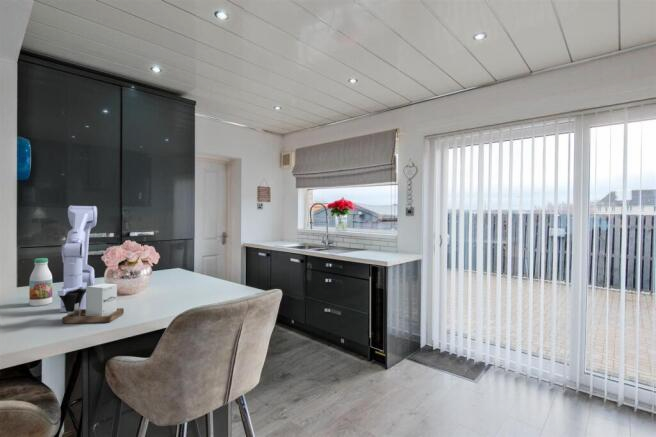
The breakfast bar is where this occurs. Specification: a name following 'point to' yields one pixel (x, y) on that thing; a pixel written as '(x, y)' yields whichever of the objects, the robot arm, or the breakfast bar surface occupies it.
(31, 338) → the breakfast bar surface
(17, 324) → the breakfast bar surface
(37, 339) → the breakfast bar surface
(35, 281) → the milk bottle
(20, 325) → the breakfast bar surface
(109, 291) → the supplement box
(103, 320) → the wooden serving tray
